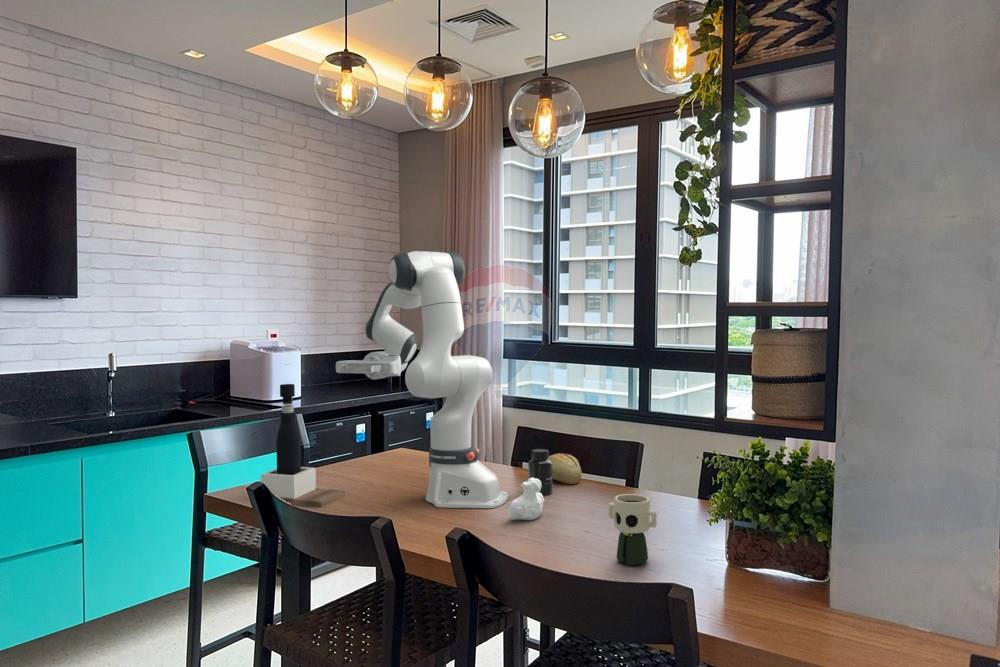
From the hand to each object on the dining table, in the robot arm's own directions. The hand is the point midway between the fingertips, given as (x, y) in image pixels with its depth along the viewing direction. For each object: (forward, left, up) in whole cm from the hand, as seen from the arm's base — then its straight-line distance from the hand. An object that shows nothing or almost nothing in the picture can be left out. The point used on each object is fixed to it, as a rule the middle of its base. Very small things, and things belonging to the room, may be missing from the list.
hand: (355, 369), depth 213 cm
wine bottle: (+8, +24, -33) cm, 41 cm away
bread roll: (-61, -15, -34) cm, 71 cm away
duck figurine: (-61, +25, -34) cm, 74 cm away
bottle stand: (+4, +24, -34) cm, 42 cm away
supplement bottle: (-58, +1, -34) cm, 67 cm away
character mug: (-89, +48, -34) cm, 107 cm away
